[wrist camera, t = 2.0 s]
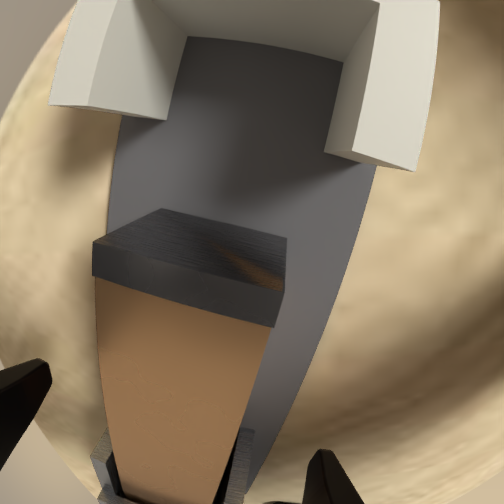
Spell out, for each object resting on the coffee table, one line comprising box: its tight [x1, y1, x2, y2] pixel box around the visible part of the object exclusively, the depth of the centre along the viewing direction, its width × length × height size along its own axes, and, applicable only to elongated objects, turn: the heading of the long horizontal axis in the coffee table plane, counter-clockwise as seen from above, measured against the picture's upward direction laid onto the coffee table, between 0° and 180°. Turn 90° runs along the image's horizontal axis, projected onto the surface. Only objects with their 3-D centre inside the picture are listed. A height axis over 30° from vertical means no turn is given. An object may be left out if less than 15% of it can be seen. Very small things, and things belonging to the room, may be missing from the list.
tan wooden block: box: [92, 208, 287, 504], centre depth 10 cm, size 4×15×4 cm, turn 168°
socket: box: [48, 0, 440, 172], centre depth 6 cm, size 7×4×4 cm, turn 77°
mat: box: [107, 36, 377, 494], centre depth 12 cm, size 8×24×1 cm, turn 167°
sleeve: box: [90, 427, 255, 504], centre depth 12 cm, size 6×7×5 cm
